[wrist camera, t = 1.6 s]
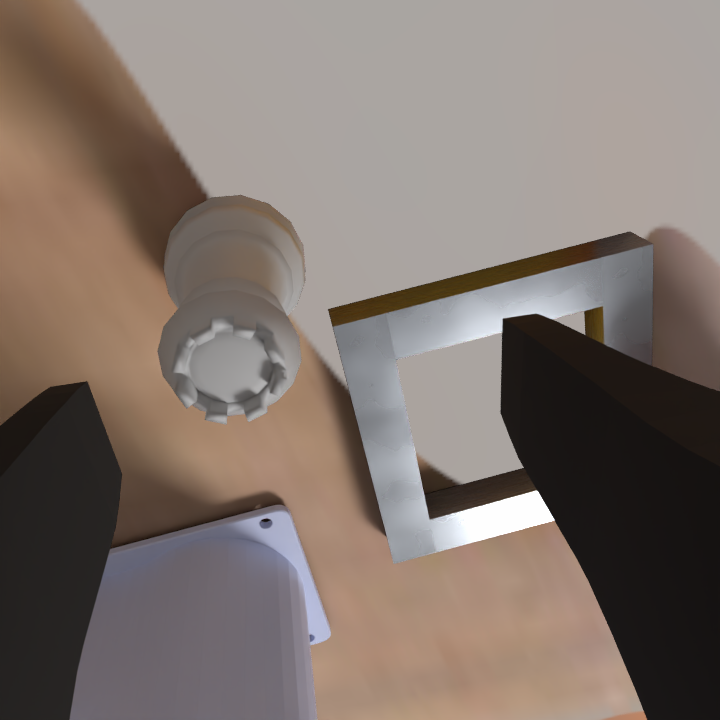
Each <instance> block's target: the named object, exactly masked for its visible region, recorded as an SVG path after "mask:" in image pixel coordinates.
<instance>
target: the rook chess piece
mask: <svg viewBox="0 0 720 720" xmlns="http://www.w3.org/2000/svg"><path fill="white" fill-rule="evenodd" d="M164 260H165V262H164V266H163V269H164V274H165V279H166V284H167V289H168V294H169V295H170V297H171V299H172V300H173V302H174V303H175V305H176V306H177V308H178V310H177V311H176V312H175V313H174V315H173V316H172V317H171V318H170V320H169V321H168V322H167V323H166V324H165V326H164V327H163V331H162V335H161V340H160V344H159V348H158V356H159V360H160V365H161V370H162V374H163V377H164V378H165V379H166V381H167V382H168V383H169V385H170V386H171V388H172V389H173V390H174V392H175V394H176V395H177V396H178V398H179V399H180V400H181V402H182V403H183V404H184V406H185V407H186V408H188V407H190V406H191V405H193V406H194V407H196V408H197V409H199V410H201V411H205V412H206V415H205V420H208V421H212V422H217V423H222V424H226V425H227V416H232V415H241V414H245V415H246V417H247V420H248V422H249V421H251V420H253V419H255V418H257V417H259V416H261V415H263V414H265V413H267V406H269V405H271V404H273V403H275V402H277V401H278V400H279V398H281V396H282V395H283V394H284V393H285V392H286V391H287V390H288V389H289V388H290V387H291V385H292V384H293V383H294V380H295V377H296V375H297V372H298V369H299V366H300V363H301V352H300V342H299V336H298V334H297V332H296V330H295V329H294V327H293V325H292V324H291V322H290V320H289V319H288V317H287V316H288V315H289V314H290V312H291V311H292V310H293V309H294V308H295V307H296V305H297V304H298V301H299V298H300V295H301V292H302V289H303V286H304V282H305V260H304V249H303V244H302V242H301V240H300V239H299V237H298V235H297V233H296V231H295V229H294V227H293V226H292V224H291V222H290V221H289V220H288V219H287V218H285V217H284V216H283V215H282V214H280V213H279V212H278V211H277V210H276V209H274V208H273V207H272V206H271V205H269V204H267V203H264V202H261V201H258V200H255V199H252V198H248V197H245V196H242V195H238V196H226V197H213V198H210V199H208V200H207V201H205V202H203V203H201V204H199V205H197V206H195V207H193V208H191V209H189V210H187V212H186V213H185V214H184V215H183V217H182V218H181V219H180V220H179V222H178V223H177V224H176V225H175V227H174V228H173V229H172V231H171V232H170V236H169V240H168V244H167V248H166V252H165V257H164Z"/></svg>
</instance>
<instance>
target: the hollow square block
mask: <svg viewBox="0 0 720 720" xmlns="http://www.w3.org/2000/svg"><path fill="white" fill-rule="evenodd" d="M328 311H329V315H330V319H331V322H332V326H333V330H334V334H335V338H336V342H337V346H338V350H339V354H340V357H341V361H342V365H343V369H344V373H345V377H346V381H347V385H348V388H349V392H350V396H351V400H352V404H353V408H354V412H355V416H356V420H357V423H358V427H359V431H360V435H361V439H362V443H363V447H364V451H365V454H366V458H367V462H368V466H369V470H370V474H371V478H372V482H373V486H374V489H375V493H376V497H377V501H378V505H379V509H380V513H381V517H382V521H383V524H384V528H385V532H386V536H387V540H388V544H389V547H390V551H391V555H392V559H393V562H394V564H395V563H399V562H402V561H406V560H410V559H413V558H417V557H421V556H424V555H428V554H432V553H435V552H439V551H443V550H446V549H450V548H454V547H457V546H461V545H465V544H469V543H472V542H476V541H480V540H483V539H487V538H491V537H494V536H498V535H502V534H505V533H509V532H513V531H516V530H520V529H524V528H527V527H531V526H535V525H538V524H542V523H546V522H549V521H553V520H554V519H553V517H552V515H551V514H550V512H549V510H548V508H547V507H546V505H545V503H544V502H543V500H542V498H541V496H540V495H539V493H538V491H537V490H536V488H535V486H534V484H533V483H532V481H531V479H530V477H529V476H528V474H527V472H526V470H525V469H524V468H522V469H518V470H515V471H511V472H507V473H503V474H499V475H496V476H492V477H488V478H485V479H481V480H477V481H473V482H470V483H466V484H462V485H458V486H455V487H451V488H447V489H444V490H440V491H436V492H432V493H429V494H425V495H424V491H423V486H422V482H421V477H420V472H419V467H418V463H417V458H416V453H415V448H414V444H413V439H412V434H411V429H410V425H409V420H408V415H407V410H406V405H405V401H404V396H403V391H402V386H401V382H400V377H399V373H398V368H397V363H396V360H398V359H402V358H406V357H410V356H414V355H417V354H421V353H425V352H428V351H433V350H436V349H440V348H444V347H448V346H452V345H456V344H459V343H463V342H467V341H471V340H475V339H478V338H483V337H486V336H490V335H494V334H498V333H501V332H502V323H503V318H509V317H516V316H522V315H529V314H535V313H537V314H540V315H542V316H545V317H547V318H550V319H555V318H559V317H563V316H567V315H571V314H574V313H578V312H582V311H584V314H585V334H586V336H588V337H590V338H592V339H594V340H596V341H598V342H600V343H603V344H605V345H607V346H609V347H611V348H613V349H615V350H617V351H619V352H622V353H624V354H626V355H628V356H630V357H633V358H635V359H637V360H639V361H642V362H644V363H646V364H648V365H651V366H652V319H653V244H652V243H650V242H648V241H647V240H645V239H643V238H641V237H639V236H637V235H636V234H634V233H632V232H626V233H622V234H618V235H615V236H611V237H607V238H603V239H599V240H595V241H591V242H587V243H584V244H580V245H576V246H572V247H568V248H564V249H560V250H556V251H552V252H549V253H545V254H541V255H537V256H533V257H529V258H525V259H521V260H517V261H514V262H510V263H506V264H502V265H499V266H494V267H491V268H486V269H482V270H479V271H475V272H471V273H467V274H464V275H459V276H455V277H451V278H447V279H444V280H440V281H436V282H432V283H428V284H424V285H421V286H417V287H412V288H409V289H405V290H401V291H397V292H393V293H389V294H385V295H381V296H377V297H374V298H370V299H366V300H362V301H358V302H354V303H350V304H347V305H343V306H339V307H335V308H331V309H328Z"/></svg>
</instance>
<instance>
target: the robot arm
mask: <svg viewBox="0 0 720 720" xmlns="http://www.w3.org/2000/svg"><path fill="white" fill-rule="evenodd" d="M501 373H502V374H501V415H502V418H503V421H504V423H505V426H506V428H507V431H508V434H509V436H510V439H511V441H512V443H513V446H514V448H515V451H516V453H517V455H518V458H519V460H520V461H521V463H522V465H523V467H524V469H525V470H526V472H527V474H528V476H529V477H530V479H531V481H532V483H533V484H534V486H535V488H536V490H537V491H538V493H539V495H540V496H541V498H542V500H543V502H544V503H545V505H546V507H547V508H548V510H549V512H550V514H551V515H552V517H553V519H554V520H555V522H556V524H557V526H558V527H559V529H560V531H561V532H562V534H563V536H564V537H565V539H566V541H567V543H568V544H569V546H570V548H571V549H572V551H573V553H574V555H575V556H576V558H577V560H578V562H579V564H580V566H581V568H582V570H583V571H584V573H585V575H586V577H587V579H588V581H589V583H590V586H591V588H592V590H593V592H594V595H595V597H596V599H597V601H598V603H599V606H600V608H601V610H602V612H603V615H604V617H605V619H606V621H607V624H608V626H609V628H610V630H611V633H612V635H613V637H614V640H615V642H616V644H617V647H618V649H619V652H620V654H621V656H622V659H623V661H624V664H625V666H626V668H627V671H628V673H629V675H630V678H631V680H632V683H633V685H634V687H635V690H636V692H637V695H638V697H639V700H640V702H641V705H642V708H643V710H644V713H645V715H646V718H647V720H720V392H719V391H716V390H713V389H710V388H707V387H704V386H702V385H699V384H696V383H693V382H691V381H688V380H685V379H683V378H680V377H678V376H675V375H673V374H670V373H668V372H665V371H663V370H661V369H658V368H656V367H653V366H651V365H648V364H646V363H644V362H642V361H639V360H637V359H635V358H633V357H630V356H628V355H626V354H624V353H622V352H619V351H617V350H615V349H613V348H611V347H609V346H607V345H605V344H603V343H600V342H598V341H596V340H594V339H592V338H590V337H588V336H586V335H584V334H582V333H580V332H577V331H575V330H573V329H571V328H569V327H567V326H565V325H563V324H561V323H559V322H557V321H554V320H552V319H550V318H547V317H545V316H542V315H540V314H537V313H535V314H529V315H522V316H516V317H509V318H503V323H502V370H501ZM121 479H122V473H121V470H120V467H119V465H118V462H117V459H116V457H115V454H114V451H113V449H112V446H111V443H110V441H109V438H108V435H107V433H106V430H105V427H104V425H103V422H102V419H101V417H100V414H99V411H98V409H97V406H96V403H95V401H94V398H93V395H92V393H91V390H90V387H89V385H88V382H87V381H86V382H80V383H73V384H67V385H60V386H53V387H50V388H48V389H47V390H45V391H44V392H42V393H41V394H39V395H38V396H37V397H35V398H34V399H33V400H31V401H30V402H29V403H28V404H26V405H25V406H24V407H23V408H21V409H20V410H19V411H18V412H16V413H15V414H14V415H13V416H12V417H10V418H9V419H8V420H7V421H6V422H4V423H3V424H2V425H1V426H0V720H317V711H316V700H315V690H314V680H313V669H312V659H311V648H310V645H313V644H316V643H320V642H323V641H326V640H327V639H328V638H329V637H330V635H331V631H330V625H329V622H328V619H327V616H326V614H325V611H324V608H323V605H322V602H321V599H320V596H319V593H318V591H317V588H316V585H315V582H314V579H313V576H312V573H311V570H310V567H309V565H308V562H307V559H306V556H305V553H304V550H303V547H302V544H301V542H300V539H299V536H298V533H297V530H296V527H295V524H294V521H293V518H292V516H291V513H290V510H289V509H288V508H287V507H286V506H284V505H273V506H269V507H266V508H262V509H258V510H254V511H251V512H247V513H243V514H239V515H236V516H232V517H228V518H224V519H221V520H217V521H213V522H209V523H206V524H202V525H198V526H195V527H191V528H187V529H183V530H180V531H176V532H172V533H168V534H165V535H161V536H157V537H153V538H150V539H146V540H142V541H138V542H135V543H131V544H127V545H123V546H120V547H116V548H112V549H110V547H111V543H112V539H113V536H114V532H115V528H116V522H117V515H118V507H119V499H120V489H121ZM266 518H268V519H271V520H270V521H268V522H263V521H261V520H262V519H266ZM309 634H311V635H309Z"/></svg>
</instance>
